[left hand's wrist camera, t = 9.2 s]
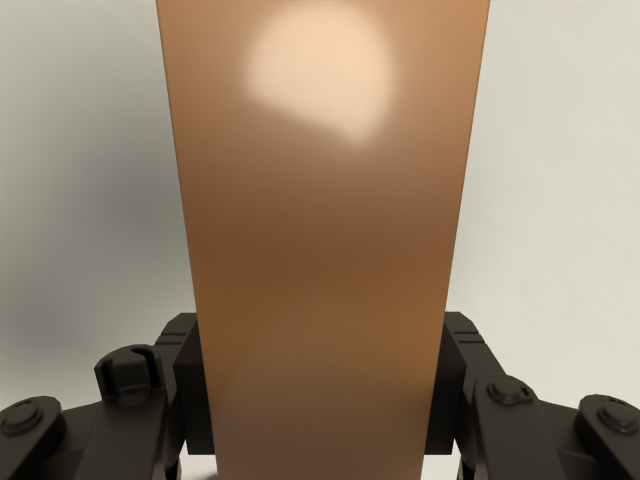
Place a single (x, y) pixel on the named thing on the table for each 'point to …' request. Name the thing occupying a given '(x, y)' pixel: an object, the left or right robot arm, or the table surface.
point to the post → (321, 220)
